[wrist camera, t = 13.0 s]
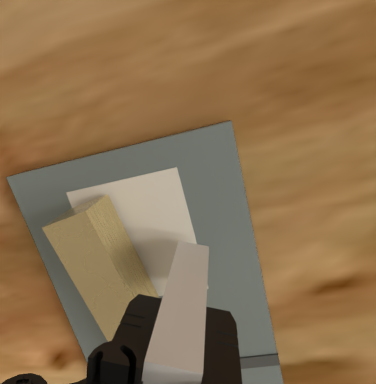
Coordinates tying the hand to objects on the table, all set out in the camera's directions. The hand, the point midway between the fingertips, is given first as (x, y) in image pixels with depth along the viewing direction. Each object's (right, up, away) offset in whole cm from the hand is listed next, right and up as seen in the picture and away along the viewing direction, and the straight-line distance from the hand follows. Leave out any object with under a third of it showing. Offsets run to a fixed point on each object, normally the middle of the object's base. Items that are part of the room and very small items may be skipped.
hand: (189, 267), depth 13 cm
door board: (0, -7, +5) cm, 8 cm away
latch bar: (-2, -3, +2) cm, 4 cm away
